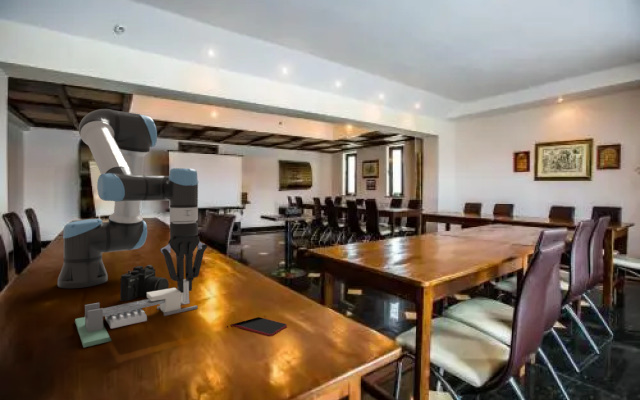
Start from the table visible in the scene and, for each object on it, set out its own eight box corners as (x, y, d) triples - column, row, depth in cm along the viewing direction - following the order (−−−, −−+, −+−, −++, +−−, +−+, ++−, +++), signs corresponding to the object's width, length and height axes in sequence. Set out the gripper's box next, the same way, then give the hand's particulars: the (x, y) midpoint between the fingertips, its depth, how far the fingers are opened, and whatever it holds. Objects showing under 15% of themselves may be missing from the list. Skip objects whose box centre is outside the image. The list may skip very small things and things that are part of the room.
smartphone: (271, 334, 81) (225, 322, 88) (271, 338, 81) (225, 325, 88) (288, 324, 87) (243, 313, 94) (288, 327, 87) (243, 316, 94)
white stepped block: (146, 312, 93) (146, 292, 93) (174, 306, 98) (174, 287, 97) (151, 317, 89) (151, 296, 89) (180, 311, 94) (180, 291, 94)
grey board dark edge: (92, 319, 81) (91, 315, 81) (89, 315, 84) (89, 310, 84) (164, 303, 92) (164, 299, 91) (160, 299, 95) (160, 295, 94)
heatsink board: (75, 322, 87) (75, 300, 87) (184, 300, 106) (184, 281, 106) (83, 347, 74) (83, 320, 74) (206, 317, 92) (207, 296, 92)
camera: (146, 307, 100) (146, 274, 100) (115, 304, 102) (115, 272, 102) (174, 293, 114) (174, 264, 113) (146, 291, 116) (146, 262, 115)
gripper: (164, 224, 89) (165, 311, 90) (211, 221, 98) (211, 301, 99) (156, 222, 95) (157, 304, 96) (201, 219, 103) (201, 294, 104)
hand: (184, 302), depth 97 cm, fingers closed
